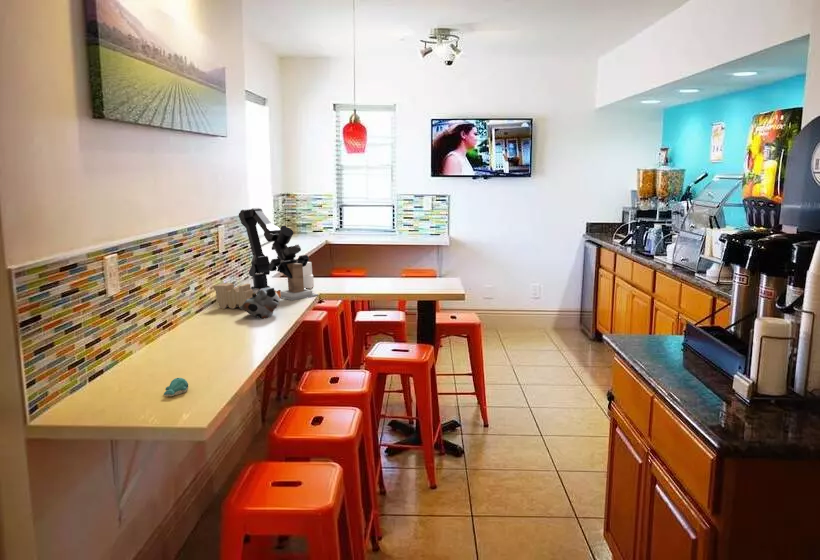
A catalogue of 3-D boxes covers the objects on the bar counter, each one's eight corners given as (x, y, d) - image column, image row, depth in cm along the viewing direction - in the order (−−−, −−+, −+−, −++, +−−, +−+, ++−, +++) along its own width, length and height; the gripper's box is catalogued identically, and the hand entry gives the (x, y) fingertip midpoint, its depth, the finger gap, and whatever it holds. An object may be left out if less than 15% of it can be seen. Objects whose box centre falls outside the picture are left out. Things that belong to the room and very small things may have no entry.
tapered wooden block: (288, 291, 290) (286, 264, 287) (298, 289, 293) (296, 262, 291) (294, 292, 286) (292, 265, 284) (303, 291, 289) (302, 263, 287)
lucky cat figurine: (254, 311, 260) (269, 280, 259) (276, 324, 256) (292, 293, 255) (232, 308, 246) (248, 276, 245) (256, 322, 242) (272, 289, 241)
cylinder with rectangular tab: (304, 285, 317) (303, 261, 315) (317, 286, 312) (316, 262, 310) (291, 288, 310) (289, 263, 308) (304, 289, 305) (303, 265, 303)
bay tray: (275, 296, 290) (274, 291, 290) (301, 292, 300) (301, 286, 299) (291, 300, 280) (291, 295, 280) (318, 295, 289) (317, 290, 289)
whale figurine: (194, 389, 168) (192, 375, 167) (178, 399, 160) (176, 385, 160) (174, 388, 169) (173, 375, 168) (157, 398, 162) (156, 384, 161)
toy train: (249, 310, 263) (247, 286, 262) (214, 308, 269) (213, 285, 267) (257, 307, 268) (255, 283, 267) (222, 305, 274) (221, 282, 272)
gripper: (270, 241, 282) (284, 268, 276) (305, 237, 294) (320, 263, 288) (262, 257, 289) (276, 284, 283) (297, 253, 302) (312, 278, 295)
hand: (296, 277), depth 287 cm, fingers closed on tapered wooden block, 5 cm apart
